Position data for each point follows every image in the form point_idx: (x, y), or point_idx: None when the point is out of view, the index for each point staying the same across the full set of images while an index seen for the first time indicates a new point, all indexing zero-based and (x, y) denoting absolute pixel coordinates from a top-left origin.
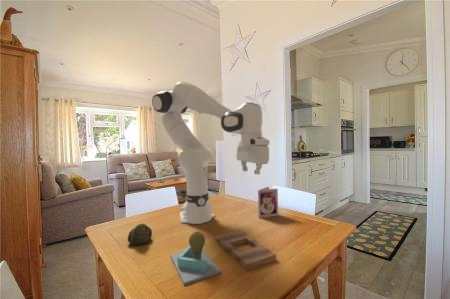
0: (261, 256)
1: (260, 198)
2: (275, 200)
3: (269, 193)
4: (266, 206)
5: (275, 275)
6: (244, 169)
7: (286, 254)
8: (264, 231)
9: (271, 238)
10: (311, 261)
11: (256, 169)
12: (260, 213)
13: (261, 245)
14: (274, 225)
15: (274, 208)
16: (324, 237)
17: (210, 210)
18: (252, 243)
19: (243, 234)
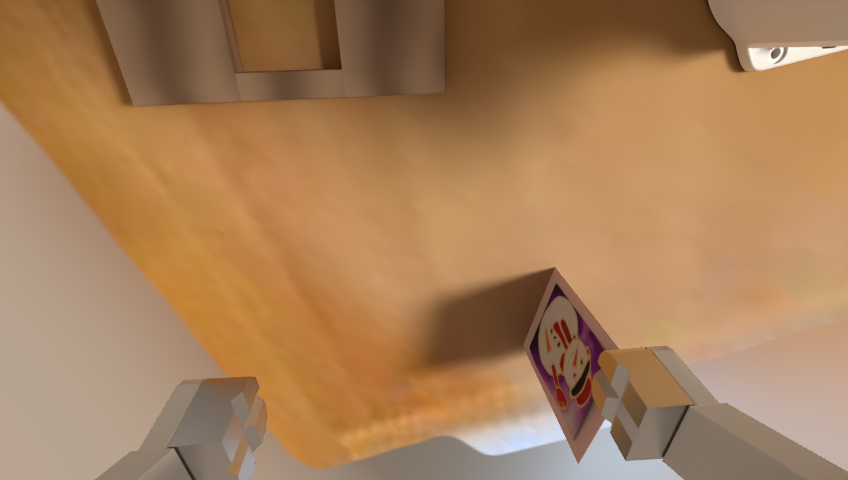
0: (126, 27)
1: (597, 341)
2: (553, 393)
3: (584, 403)
4: (561, 334)
5: (25, 22)
6: (627, 377)
7: (183, 169)
8: (413, 210)
9: (336, 197)
10: (110, 217)
11: (117, 467)
12: (559, 286)
13: (235, 94)
14: (444, 279)
15: (539, 356)
16: (266, 361)
17: (781, 26)
18: (285, 71)
19: (386, 77)
